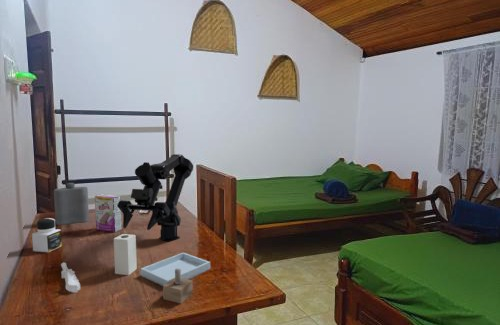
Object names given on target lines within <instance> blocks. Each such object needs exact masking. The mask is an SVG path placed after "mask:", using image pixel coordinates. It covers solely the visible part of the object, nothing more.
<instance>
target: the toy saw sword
mask: <svg viewBox="0 0 500 325" xmlns="http://www.w3.org/2000/svg"><path fill="white" fill-rule="evenodd" d="M60 267H61V269H62V270H61V279H64V280H65V290H66V291H68V292H69V293H73V294H74V293H78V291H80V290H81V283H80V282H79V281H80V280H79V279H78V277H77V276H76V274H75V271H74V270H73V268H68V266H67V263H66V262H62V263H60Z"/></svg>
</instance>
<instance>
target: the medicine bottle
mask: <svg viewBox="0 0 500 325" xmlns="http://www.w3.org/2000/svg"><path fill="white" fill-rule="evenodd" d="M36 226H37V227H36V228H37V229H36V230H37V231H35V232H33V233H31V236H32V237H31V238H32V239H31V241H32V252H39V253H50V252H52V251H55V250H56V249H59V248H61V247H62V230H61V229H59V228H57V229H56V221H55V218H52V217H51V218H50V217H46V218H41V219H39V220H37V221H36Z"/></svg>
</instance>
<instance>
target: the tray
mask: <svg viewBox="0 0 500 325" xmlns="http://www.w3.org/2000/svg"><path fill="white" fill-rule="evenodd" d="M175 269H181V278H183V279H187V280H191V279H192V278H194V277H196V276H199V275H201V274H203V273H205V272H207V271H210V270H211V261H208V260H206V259H204V258H200V257H197V256H195V255H192V254H189V253H186V252H181V253H178V254H176V255H173V256H171V257H167V258H165V259H162V260H159V261H157V262H154V263H152V264H149V265H147V266H143V267H142V268H140V276H141V277H143V278H145V279H147V280H148V281H151V282H153V283H155V284H157V285H159V286H161V287H163V285H165V284H166V283H168V282H169V281H171V280H172V279H174V278H175Z"/></svg>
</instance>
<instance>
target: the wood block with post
mask: <svg viewBox="0 0 500 325" xmlns="http://www.w3.org/2000/svg"><path fill="white" fill-rule="evenodd" d="M193 294H194V281H193V280H192V279H188V280H187V279H183V278H181V269H175V278H174V279H172V280H171V281H169V282H168V283H166V284H165V285H163V286H162V296H163V300H165V301H169V302H173V303H177V304H182V303H183V302H185V301H186V300H187V299H189V298H190V297H191V296H192V295H193Z"/></svg>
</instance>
